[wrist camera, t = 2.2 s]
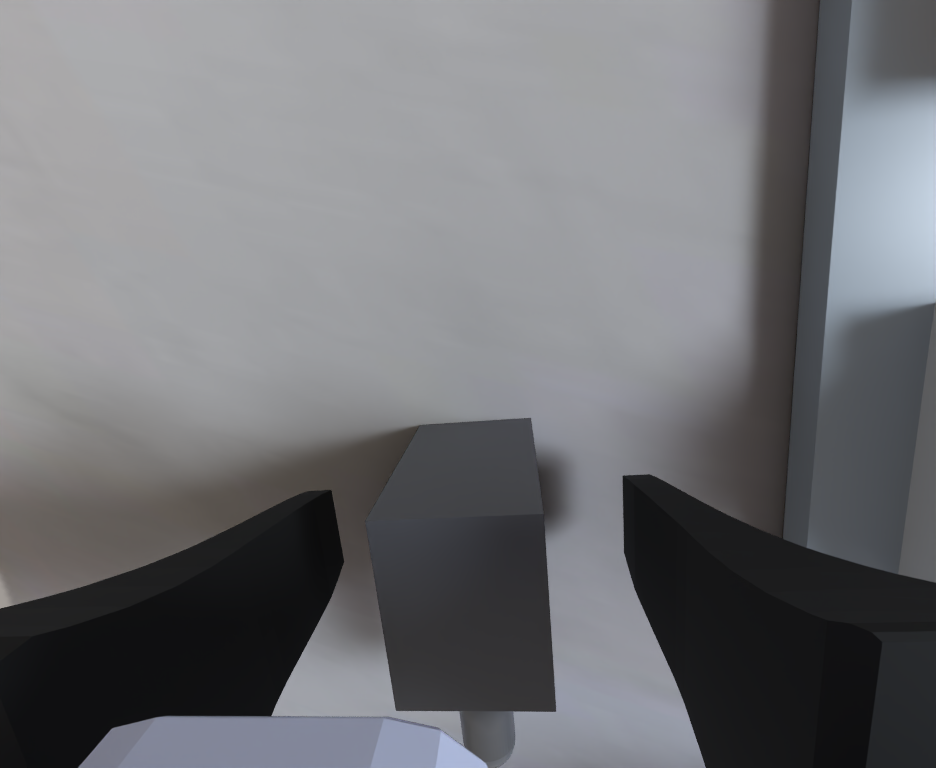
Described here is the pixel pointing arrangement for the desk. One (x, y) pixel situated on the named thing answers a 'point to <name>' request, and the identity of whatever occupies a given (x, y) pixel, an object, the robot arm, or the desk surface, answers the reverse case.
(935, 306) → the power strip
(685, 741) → the desk surface
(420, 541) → the dark gray plug
